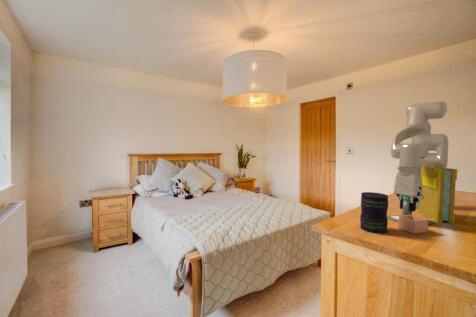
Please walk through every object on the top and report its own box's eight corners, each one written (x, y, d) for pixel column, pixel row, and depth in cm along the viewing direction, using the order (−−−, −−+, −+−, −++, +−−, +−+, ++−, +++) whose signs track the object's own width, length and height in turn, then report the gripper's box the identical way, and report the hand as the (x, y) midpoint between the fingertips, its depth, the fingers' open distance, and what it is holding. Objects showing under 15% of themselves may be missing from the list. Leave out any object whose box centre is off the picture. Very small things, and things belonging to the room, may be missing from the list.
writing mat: (408, 215, 112) (408, 213, 112) (434, 223, 100) (435, 221, 100) (385, 217, 108) (385, 215, 108) (409, 226, 96) (409, 224, 96)
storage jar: (355, 228, 94) (356, 193, 93) (366, 223, 100) (367, 191, 99) (381, 236, 86) (382, 198, 85) (391, 230, 92) (392, 195, 91)
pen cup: (410, 226, 96) (411, 214, 95) (427, 232, 89) (428, 219, 89) (398, 228, 94) (398, 215, 94) (414, 234, 87) (415, 220, 87)
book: (454, 223, 100) (457, 169, 99) (437, 222, 101) (440, 168, 100) (430, 212, 117) (432, 166, 115) (415, 211, 118) (417, 165, 117)
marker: (406, 217, 104) (407, 192, 103) (414, 220, 100) (415, 194, 100) (399, 218, 103) (400, 192, 102) (407, 220, 99) (409, 194, 99)
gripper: (386, 169, 108) (385, 205, 109) (422, 172, 92) (420, 216, 93) (398, 168, 109) (396, 204, 110) (435, 172, 93) (433, 214, 94)
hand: (407, 209), depth 101 cm, fingers closed on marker, 3 cm apart
